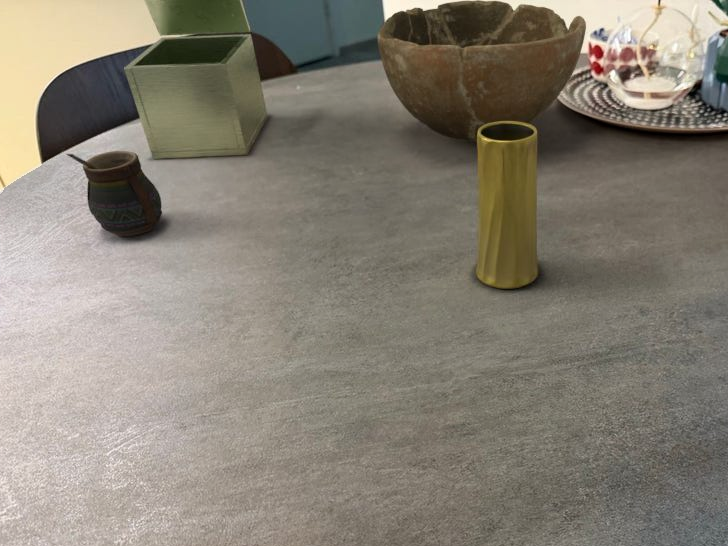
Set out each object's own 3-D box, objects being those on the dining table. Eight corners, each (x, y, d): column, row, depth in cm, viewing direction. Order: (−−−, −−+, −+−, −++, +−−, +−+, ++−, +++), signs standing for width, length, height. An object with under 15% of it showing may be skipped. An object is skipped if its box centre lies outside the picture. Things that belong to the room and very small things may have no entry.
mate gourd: (182, 219, 80) (156, 133, 74) (132, 249, 75) (99, 159, 69) (136, 209, 83) (106, 125, 77) (83, 237, 77) (47, 149, 71)
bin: (247, 154, 96) (226, 63, 89) (152, 159, 95) (123, 68, 88) (268, 116, 108) (250, 34, 101) (184, 120, 108) (161, 37, 101)
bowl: (511, 91, 115) (511, -10, 106) (617, 140, 97) (628, 23, 88) (356, 124, 104) (342, 14, 95) (442, 186, 86) (435, 57, 77)
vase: (480, 257, 72) (477, 118, 63) (540, 259, 71) (545, 119, 62) (472, 288, 67) (466, 142, 58) (535, 291, 66) (540, 144, 58)
